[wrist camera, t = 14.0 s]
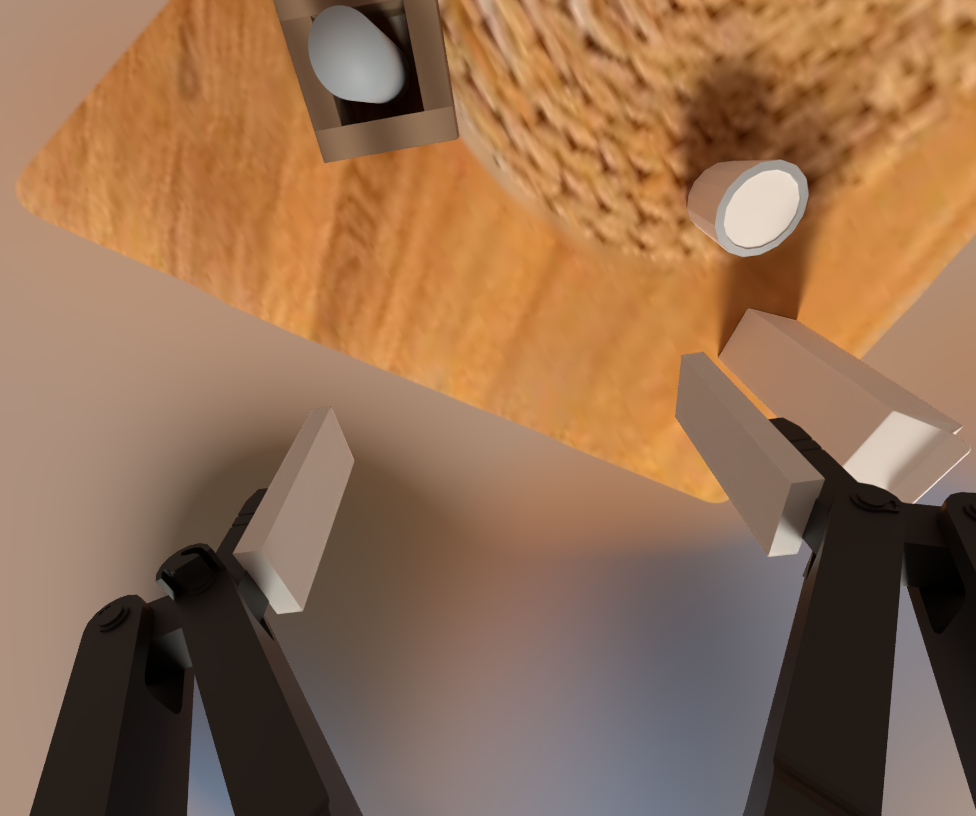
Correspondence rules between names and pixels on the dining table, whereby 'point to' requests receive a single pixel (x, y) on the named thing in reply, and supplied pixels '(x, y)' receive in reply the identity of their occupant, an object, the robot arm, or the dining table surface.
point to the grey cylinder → (356, 58)
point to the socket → (335, 115)
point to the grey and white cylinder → (748, 204)
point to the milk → (844, 405)
